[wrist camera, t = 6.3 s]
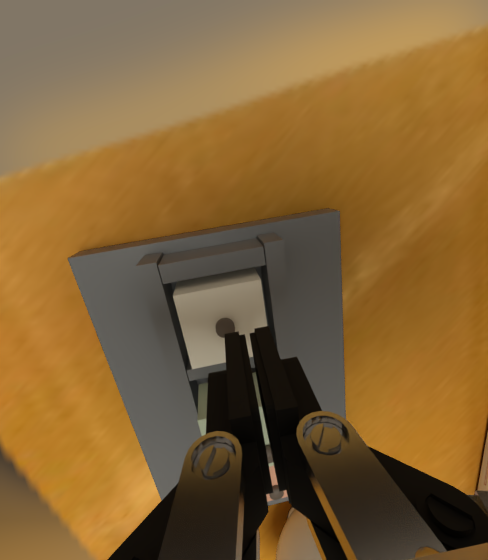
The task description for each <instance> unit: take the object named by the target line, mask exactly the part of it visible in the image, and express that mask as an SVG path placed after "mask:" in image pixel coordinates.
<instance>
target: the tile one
mask: <svg viewBox="0 0 488 560" xmlns="http://www.w3.org/2000/svg"><path fill="white" fill-rule="evenodd" d="M173 299H174V302H175V306H176V310H177V314H178V318H179V321H180V325H181V329H182V333H183V337H184V340H185V344H186V348H187V352H188V356H189V359H190V363H191V367H192V369H196V368H201V367H206V366H211V365H215V364H220V363H225V362H226V355H225V337H224V334H227V333H232V332H238V331H239V335H243V334H245V338H246V343H247V348H248V353H249V357H253V352H252V346H251V340H250V334H249V333H254V332H255V331H254V328H260V327H265V326H267V320H266V313H265V306H264V299H263V292H262V284H261V279H260V277H259V275H258V274H257V272H256V270H255V268H254V267H252V268H247V269H242V270H236V271H231V272H225V273H220V274H215V275H209V276H204V277H198V278H193V279H188V280H182V281H177V283H176V287H175V290H174V294H173Z"/></svg>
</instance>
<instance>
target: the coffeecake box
mask: <svg viewBox="0 0 488 560" xmlns="http://www.w3.org/2000/svg"><path fill="white" fill-rule="evenodd" d="M477 490H480V491H488V432H487V438H486V444H485V449H484V455H483V461H482V467H481V472H480V478H479V483H478V489H477Z"/></svg>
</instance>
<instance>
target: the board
mask: <svg viewBox="0 0 488 560" xmlns="http://www.w3.org/2000/svg"><path fill="white" fill-rule="evenodd" d="M68 261H69V264H70V266H71V269H72V271H73V274H74V276H75V279H76V281H77V284H78V287H79V289H80V292H81V294H82V297H83V299H84V302H85V305H86V307H87V310H88V312H89V315H90V317H91V320H92V323H93V325H94V328H95V330H96V333H97V335H98V338H99V341H100V343H101V346H102V348H103V351H104V353H105V356H106V359H107V361H108V364H109V366H110V369H111V371H112V374H113V377H114V379H115V382H116V384H117V387H118V389H119V392H120V395H121V397H122V400H123V402H124V405H125V407H126V410H127V412H128V415H129V418H130V420H131V423H132V425H133V428H134V430H135V433H136V436H137V438H138V441H139V443H140V446H141V448H142V451H143V454H144V456H145V459H146V461H147V464H148V466H149V469H150V472H151V474H152V477H153V479H154V482H155V484H156V487H157V490H158V492H159V495H160V497H161V500H163V499H164V498H165V497H166V496H167V494H168V493H169V492H170V491H171V490H172V489H173V488H174V487H175V486H176V485H177V484H178V482H179V478H180V474H181V471H182V467H183V463H184V459H185V456H186V454H187V452H188V449H189V448H190V447H191V446H192V444H193V443H194V442H195V441H196V440H197V439H199V438H200V437H201V436H202V435H201V431H200V428H199V424H198V421H197V419H198V391H199V384H203V383H208V374H209V373H212V372H217V371H223V370H226V362H225V363H220V364H215V365H211V366H206V367H201V368H196V369H192V367H191V363H190V359H189V356H188V352H187V348H186V344H185V340H184V337H183V333H182V329H181V325H180V321H179V318H178V314H177V310H176V306H175V302H174V299H173V294H174V290H175V287H176V283H177V281H182V280H188V279H193V278H198V277H204V276H209V275H215V274H220V273H225V272H231V271H236V270H242V269H247V268H252V267H254V268H255V270H256V272H257V274H258V275H259V277H260V279H261V284H262V292H263V299H264V306H265V313H266V320H267V326H269V329H270V331H271V334H272V337H273V340H274V342H275V345H276V348H277V351H278V353H279V356H280V359H287V358H292V357H297V358H298V360H299V362H300V364H301V366H302V368H303V370H304V373H305V375H306V377H307V379H308V381H309V383H310V385H311V388H312V390H313V392H314V394H315V396H316V398H317V401H318V403H319V405H320V407H321V409H322V411H329V412H332V413H335V414H338V415H340V416H341V417H343V418H345V419H346V410H345V376H344V342H343V308H342V274H341V240H340V211H338V210H334V209H329V208H326V209H321V210H315V211H309V212H303V213H298V214H292V215H286V216H280V217H275V218H269V219H263V220H257V221H252V222H246V223H240V224H234V225H229V226H223V227H217V228H211V229H206V230H200V231H194V232H188V233H182V234H177V235H171V236H165V237H159V238H154V239H148V240H142V241H136V242H131V243H125V244H119V245H113V246H108V247H102V248H96V249H90V250H85V251H80V252H78V253H76V254H75V255H73V256H71V257H69V258H68ZM249 359H250V364H251V369H252V373H255V372H256V370H255V364H254V358H253V357H249ZM285 501H289V500H288V497H284V498H280V499H278V500H272V501H268V506H269V505H273V504H277V503H281V502H285Z"/></svg>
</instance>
